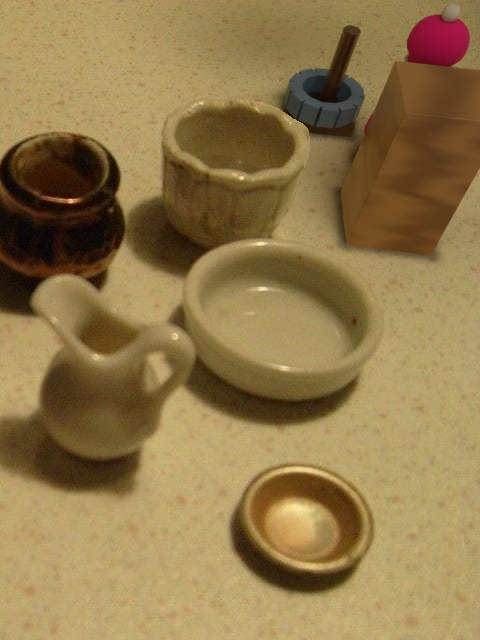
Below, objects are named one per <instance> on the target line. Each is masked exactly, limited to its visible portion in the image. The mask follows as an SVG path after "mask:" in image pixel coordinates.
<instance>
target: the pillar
mask: <svg viewBox="0 0 480 640" xmlns="http://www.w3.org/2000/svg"><path fill="white" fill-rule="evenodd" d="M373 112H374V113H373ZM373 112H372V113H373V115H372V114H371V115H372V118H371V120H370V123H369V125H368V127H367V130H366V132H365V135H364V134H363V137H362V140H361V141H360V144H359V147H358V149H357V152H356V154H355V156H354V159H353V161H352V164H351V166H350V169H349V171H348V173H347V176H346V178H345V181H344V183H343V185H342V188H341V190H340V200H341V209H342V218H343V219H342V221H343V228H344V229H343V230H344V238H345V245H348V246H354V247H355V246H356V247H362V248H370V249H376V250H377V249H378V250H386V251H392V252H401V253H407V254H414V255H415V254H416V255H422V256H423V255H424V256H432V254H433V253H434V250H435V249H436V247H437V245H438V244H439V242H440V240H441V238H442V236H443V234H444V233H445V231H446V230H447V227H448V226H449V224H450V223H451V220H452V219H453V217H454V215H455V213H456V211H457V210H458V208H459V206H460V204H461V202H462V200H463V199H464V197H465V195H466V194H467V192H468V190H469V188H470V186H471V185H472V184H473V181H474V180H475V178H476V176H477V174H478V172H479V171H480V69H472V68H465V67H454V66H452V67H447V66H438V65H429V64H420V63H411V62H404V61H401V60H395V61H394V62H393V64H392V67H391V70H390V72H389V74H388V77H387V79H386V82H385V84H384V87H383V90H382V91H381V94H380V96H379V99H378V101H377V103H376V105H375V108H374V111H373Z"/></svg>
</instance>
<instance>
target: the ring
mask: <svg viewBox="0 0 480 640" xmlns="http://www.w3.org/2000/svg"><path fill="white" fill-rule="evenodd" d="M328 71H329V68H321V67H320V68H319V67H315V68H314V69H313V68H307V69H304V70H299V71H298V72H295V74H294V75H293V76H292V77H291V78H290V79H289V81H288V84H287V86H286V90H285V93H284V96H283V101H284V103H283V104H284V108H286V109H285V110H286V111H287V112H288V113H289V114H290V115H291V116H292V117H293V116H294V117H295V118H298V117H299V118H298V120H300V121H302V122H305V123H307V124H310V125H312V126H313V125H314V124H315V123H316V126H317V127H327V128H333V126H334V127H335V128H337V127H341V126H345V125H349V123H352V122H353V121H354V122H355V120H356V119H357V117H358V116H359V114H360V112H361V109H362V107H363V104H364V101H365V99H366V98H365V97H366V95H365V91H364V90H365V89H364V87H362V84H360V83H359V82H358V81H357V80H355V78H353V77H351V76H350V75H349V74H347V73H346V74H345V76H344V79H343V82H342V85H341V87H340V90H339V93H338V95H337V99H338V100H339V101H340V102H339V103H327V102H321V101H319V100H316V99H314V98H311V97H310V96H309V95H308V94H307V93H310V92H317V93H321V90H322V88H323V85H324V82H325V79H326V76H327V73H328Z"/></svg>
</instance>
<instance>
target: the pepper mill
mask: <svg viewBox="0 0 480 640" xmlns="http://www.w3.org/2000/svg"><path fill="white" fill-rule="evenodd" d="M461 14H462V11H461V7H460V6H459V5H458V4H455V3H449V4H447V5H446V6H444V7H443V9H442V10H441V13H437V14H431V15H428V16H426V17H424V18H422V19H421V20H419V21H418V22H417V23H416V24H415V25H414V26H413V27H412V29H411V30H410V32H409V34H408V37H407V40H406V50H407V54H406V55H405V56H404V58H403V62H411V63H420V64H429V65H438V66H447V67H454V66H455V65H457V64H458V63H459V62H460V61H461V60H462V59H463V58H464V57H465V56H466V54H467V52H468V49H469V46H470V43H471V36H470V30H469V27H468V26H467V25H466V24H465V22H464V21H462V19H460V16H461ZM373 113H374V111H373V112H372V113H371V115H370V116H369V118H368V120H367V122H366V124H365V125H364V130H363V136H364V135H365V132H366V130H367V127H368V125H369V123H370V120H371V118H372V115H373Z"/></svg>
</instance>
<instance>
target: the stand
mask: <svg viewBox="0 0 480 640" xmlns="http://www.w3.org/2000/svg"><path fill="white" fill-rule="evenodd" d="M361 33H362V30H361V28H360V27H358V26H356V25H352V24H350V25H345V26H344V27H343V28H342V31H341V34H340V37H339V38H338V39H339V40H338V42H337V45H336V48H335V50H334V54H333V57H332V59H331V62H330V65H329V68H328V69H329V71H328V73H327V76H326V79H325V82H324V85H323V88H322V90H321V93H317V92H310V93H307V94H308V95H309V96H310V97H311V98H314V99H316V100H319V101H321V102H327V103H339V102H340V101H339V100H338V99H337V95H338V93H339V90H340V87H341V85H342V82H343V79H344V76H345V74H346V75H347V70H348V67H349V65H350V62H351V60H352V57H353V54H354V52H355V49H356V47H357V44H358V42H359V38H360V35H361ZM293 118H294V119H296V120H297V121H299V122H301V123H303V124H304V125H305V126H306V127H307V128H308V130H309V132H308V133H316V134H323V135H324V134H325V135H332V136H341V137H348V138H349V137H350V138H351V137H352V135H353V133H354V130H355V129H356V126H355V120H354V121H353V122H352V123H349V125H345V126H341V127H337V128H335V127H334V126H333V128H327V127H317V126H316V123H315V124H314V125H313V126H312V125H310V124H307V123H305V122H302V121H300V120H298V118H299V117H298V118H295V117H294V116H293V115H292V119H293Z"/></svg>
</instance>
